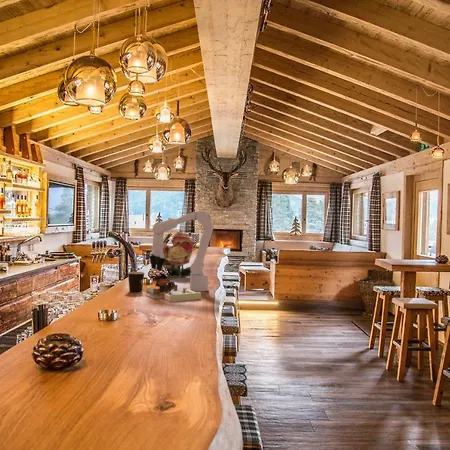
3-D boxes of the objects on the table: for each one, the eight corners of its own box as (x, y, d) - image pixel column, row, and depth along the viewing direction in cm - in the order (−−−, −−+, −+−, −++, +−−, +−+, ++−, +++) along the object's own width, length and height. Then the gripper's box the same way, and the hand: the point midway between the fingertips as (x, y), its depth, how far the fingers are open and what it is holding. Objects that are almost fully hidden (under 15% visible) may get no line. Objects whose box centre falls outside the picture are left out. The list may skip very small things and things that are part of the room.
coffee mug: (135, 293, 230) (135, 274, 229) (124, 291, 235) (124, 272, 234) (151, 290, 239) (152, 272, 238) (140, 288, 244) (141, 270, 244)
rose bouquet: (151, 273, 305) (152, 230, 304) (192, 273, 314) (194, 230, 313) (157, 279, 280) (158, 231, 279) (202, 278, 289) (203, 232, 288)
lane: (178, 288, 248) (178, 282, 248) (205, 298, 222) (205, 292, 221) (137, 291, 236) (137, 285, 236) (161, 302, 209) (161, 295, 209)
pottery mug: (151, 294, 233) (151, 279, 237) (160, 299, 240) (161, 285, 244) (171, 290, 229) (171, 275, 233) (180, 295, 236) (180, 281, 240)
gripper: (146, 243, 249) (144, 267, 249) (156, 246, 237) (154, 271, 237) (157, 243, 253) (156, 267, 253) (168, 246, 240) (166, 271, 241)
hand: (156, 269), depth 245 cm, fingers open, 7 cm apart
